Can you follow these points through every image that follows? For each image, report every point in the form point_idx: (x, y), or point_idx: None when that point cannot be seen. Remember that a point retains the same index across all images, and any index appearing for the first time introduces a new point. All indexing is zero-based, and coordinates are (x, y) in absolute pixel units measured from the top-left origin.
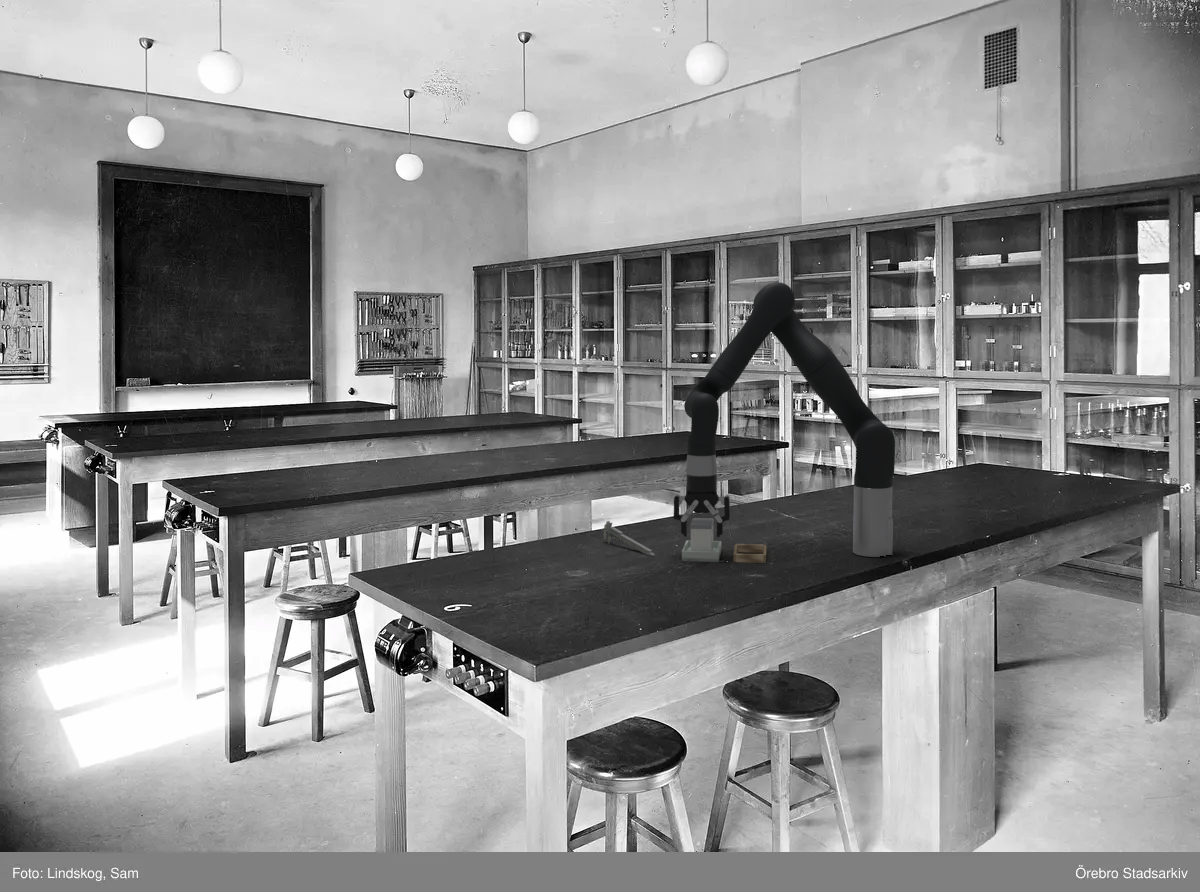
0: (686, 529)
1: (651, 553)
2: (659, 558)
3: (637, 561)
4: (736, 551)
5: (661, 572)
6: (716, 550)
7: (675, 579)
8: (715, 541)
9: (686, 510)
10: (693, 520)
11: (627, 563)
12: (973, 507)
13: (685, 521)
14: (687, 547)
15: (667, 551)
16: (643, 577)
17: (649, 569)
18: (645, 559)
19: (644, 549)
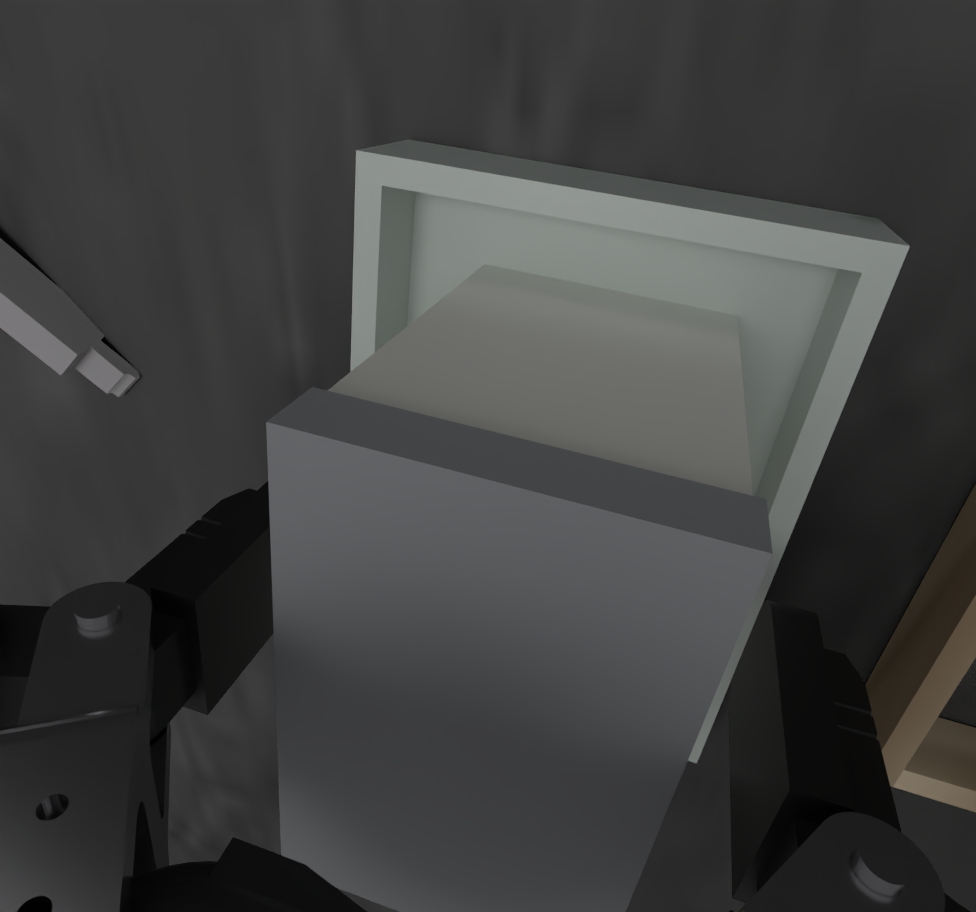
0: (270, 635)
1: (97, 373)
2: (197, 474)
3: (70, 531)
4: (959, 674)
5: (277, 788)
6: (764, 383)
7: (369, 908)
8: (796, 260)
9: (8, 748)
10: (297, 635)
11: (28, 567)
12: None
13: (178, 701)
14: (402, 277)
15: (213, 212)
16: (203, 833)
17: (197, 719)
18: (105, 487)
19: (4, 320)
